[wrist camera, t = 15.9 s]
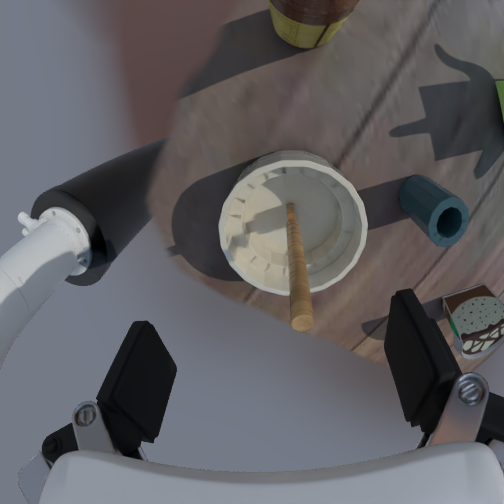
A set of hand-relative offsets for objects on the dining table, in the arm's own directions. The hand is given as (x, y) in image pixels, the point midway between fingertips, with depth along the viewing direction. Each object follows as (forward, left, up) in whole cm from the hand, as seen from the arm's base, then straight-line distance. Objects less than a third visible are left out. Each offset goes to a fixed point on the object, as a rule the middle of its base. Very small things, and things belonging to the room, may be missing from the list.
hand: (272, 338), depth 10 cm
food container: (+37, +3, -23) cm, 43 cm away
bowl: (+4, -2, -22) cm, 23 cm away
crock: (+15, +9, -22) cm, 28 cm away
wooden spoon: (+4, -2, -22) cm, 22 cm away
